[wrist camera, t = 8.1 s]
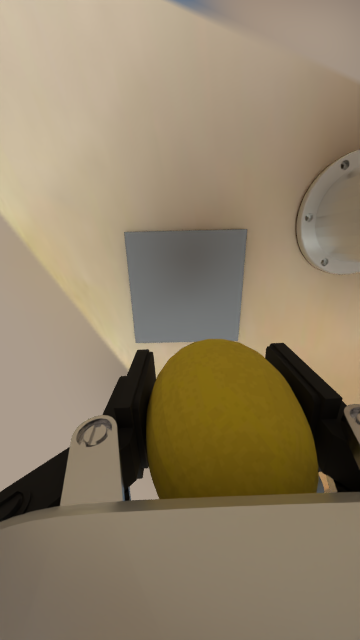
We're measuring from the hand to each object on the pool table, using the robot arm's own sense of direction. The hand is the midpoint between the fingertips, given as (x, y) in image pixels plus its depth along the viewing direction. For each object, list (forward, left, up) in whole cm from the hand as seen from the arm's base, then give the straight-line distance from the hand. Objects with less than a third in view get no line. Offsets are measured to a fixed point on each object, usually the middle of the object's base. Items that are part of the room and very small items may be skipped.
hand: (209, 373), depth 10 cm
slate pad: (+1, -1, -17) cm, 17 cm away
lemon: (0, 0, -1) cm, 2 cm away
